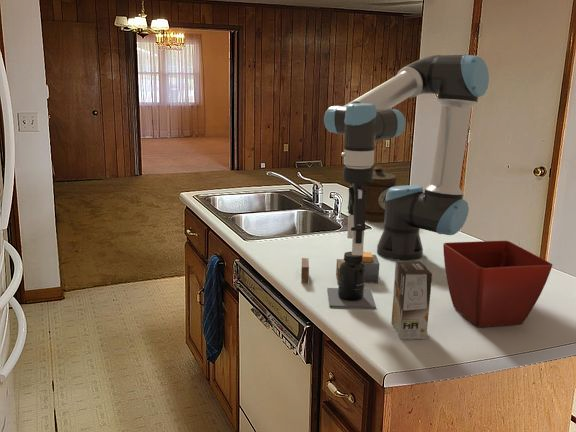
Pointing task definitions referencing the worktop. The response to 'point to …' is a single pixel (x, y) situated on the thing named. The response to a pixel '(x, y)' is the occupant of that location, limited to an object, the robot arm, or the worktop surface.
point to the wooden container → (377, 195)
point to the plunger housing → (371, 270)
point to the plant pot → (494, 281)
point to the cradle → (306, 270)
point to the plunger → (367, 257)
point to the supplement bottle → (351, 277)
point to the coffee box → (411, 299)
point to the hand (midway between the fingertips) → (354, 246)
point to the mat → (338, 302)
